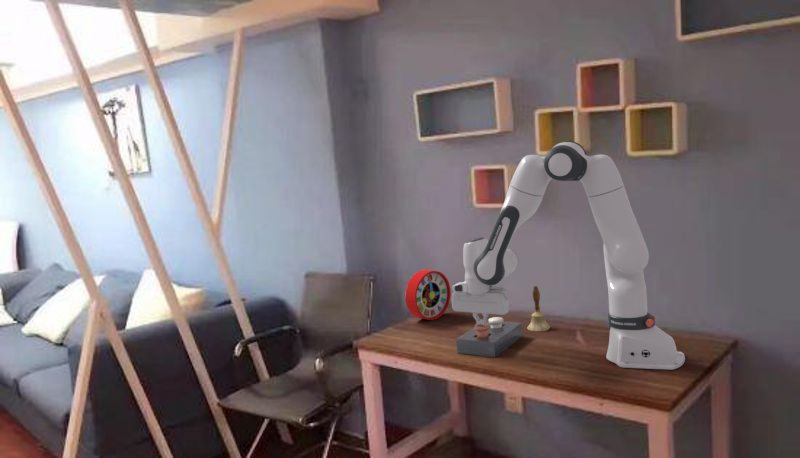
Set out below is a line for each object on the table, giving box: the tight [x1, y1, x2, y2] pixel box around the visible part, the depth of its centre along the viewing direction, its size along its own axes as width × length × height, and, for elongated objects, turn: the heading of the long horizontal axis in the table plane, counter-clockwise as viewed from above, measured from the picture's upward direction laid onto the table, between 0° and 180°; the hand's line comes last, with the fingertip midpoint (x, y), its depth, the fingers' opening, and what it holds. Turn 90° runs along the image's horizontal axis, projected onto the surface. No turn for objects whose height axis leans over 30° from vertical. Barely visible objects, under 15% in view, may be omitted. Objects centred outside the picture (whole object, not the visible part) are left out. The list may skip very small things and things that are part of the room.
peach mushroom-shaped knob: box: [473, 323, 490, 338], centre depth 219 cm, size 5×5×6 cm
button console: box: [455, 319, 523, 358], centre depth 224 cm, size 14×23×5 cm, turn 147°
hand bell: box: [527, 285, 551, 333], centre depth 236 cm, size 8×8×16 cm
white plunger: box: [487, 316, 504, 329], centre depth 228 cm, size 5×5×6 cm
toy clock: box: [404, 269, 452, 321], centre depth 263 cm, size 20×6×20 cm, turn 131°
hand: (481, 325), depth 218 cm, fingers closed, pressing on peach mushroom-shaped knob
